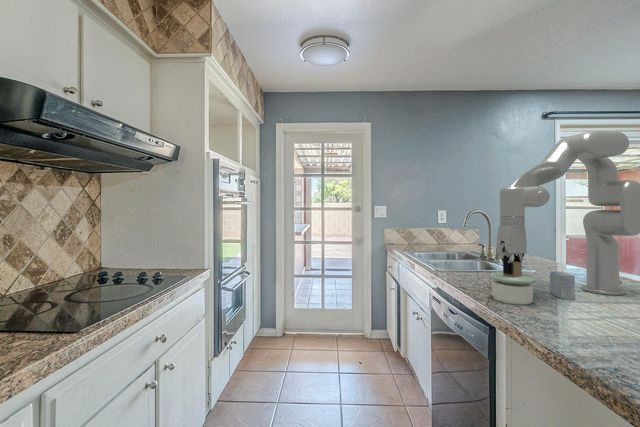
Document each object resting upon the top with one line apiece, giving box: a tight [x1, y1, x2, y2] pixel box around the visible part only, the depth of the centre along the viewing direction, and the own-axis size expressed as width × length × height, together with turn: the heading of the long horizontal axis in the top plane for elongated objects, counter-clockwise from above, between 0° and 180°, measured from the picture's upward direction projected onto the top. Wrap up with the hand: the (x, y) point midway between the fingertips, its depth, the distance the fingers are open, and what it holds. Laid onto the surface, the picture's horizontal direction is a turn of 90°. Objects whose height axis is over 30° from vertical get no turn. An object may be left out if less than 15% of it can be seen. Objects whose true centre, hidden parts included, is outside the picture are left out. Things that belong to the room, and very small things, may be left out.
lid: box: [489, 260, 537, 284], centre depth 112 cm, size 14×14×6 cm
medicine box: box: [549, 271, 576, 301], centre depth 116 cm, size 8×4×9 cm, turn 168°
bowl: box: [492, 279, 534, 306], centre depth 113 cm, size 12×12×6 cm
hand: (512, 272), depth 113 cm, fingers closed on lid, 4 cm apart
